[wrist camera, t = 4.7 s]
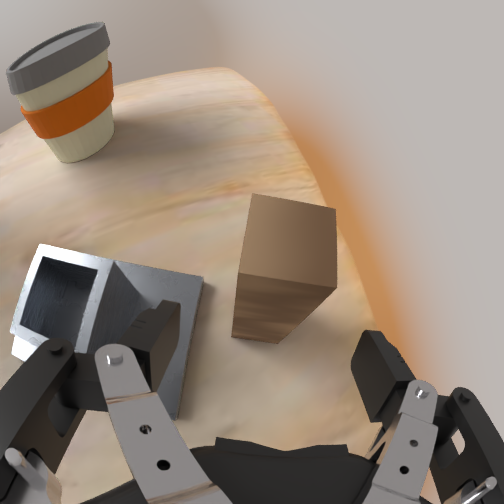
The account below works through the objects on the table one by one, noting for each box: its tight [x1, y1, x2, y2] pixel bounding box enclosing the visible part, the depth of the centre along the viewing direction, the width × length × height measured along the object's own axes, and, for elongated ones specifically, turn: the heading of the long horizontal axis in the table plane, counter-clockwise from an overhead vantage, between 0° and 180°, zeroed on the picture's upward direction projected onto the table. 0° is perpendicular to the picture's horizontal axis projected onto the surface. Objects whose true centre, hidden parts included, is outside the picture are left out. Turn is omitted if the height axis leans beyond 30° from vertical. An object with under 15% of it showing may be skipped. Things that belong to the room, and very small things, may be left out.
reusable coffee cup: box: [6, 22, 114, 163], centre depth 22 cm, size 12×13×15 cm
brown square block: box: [231, 194, 337, 344], centre depth 15 cm, size 4×4×12 cm
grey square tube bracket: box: [10, 244, 204, 420], centre depth 16 cm, size 16×11×6 cm
